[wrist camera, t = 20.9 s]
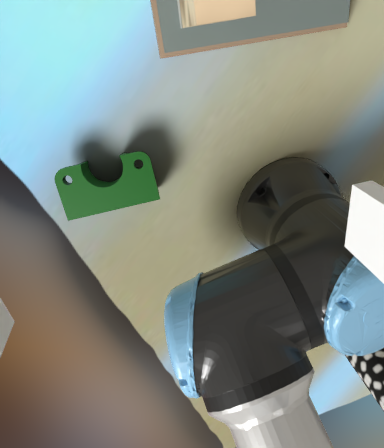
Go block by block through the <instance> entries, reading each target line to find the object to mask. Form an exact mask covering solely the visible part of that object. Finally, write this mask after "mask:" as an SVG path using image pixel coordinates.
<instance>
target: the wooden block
mask: <svg viewBox="0 0 384 448" xmlns="http://www.w3.org/2000/svg"><path fill="white" fill-rule="evenodd" d="M177 5H178V12H179V20H180V27H181V28H187V27H193V26H199V25H205V24H212V23H218V22H224V21H230V20H235V19H240V18H246V17H251V16H256V7H255V0H177Z"/></svg>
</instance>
